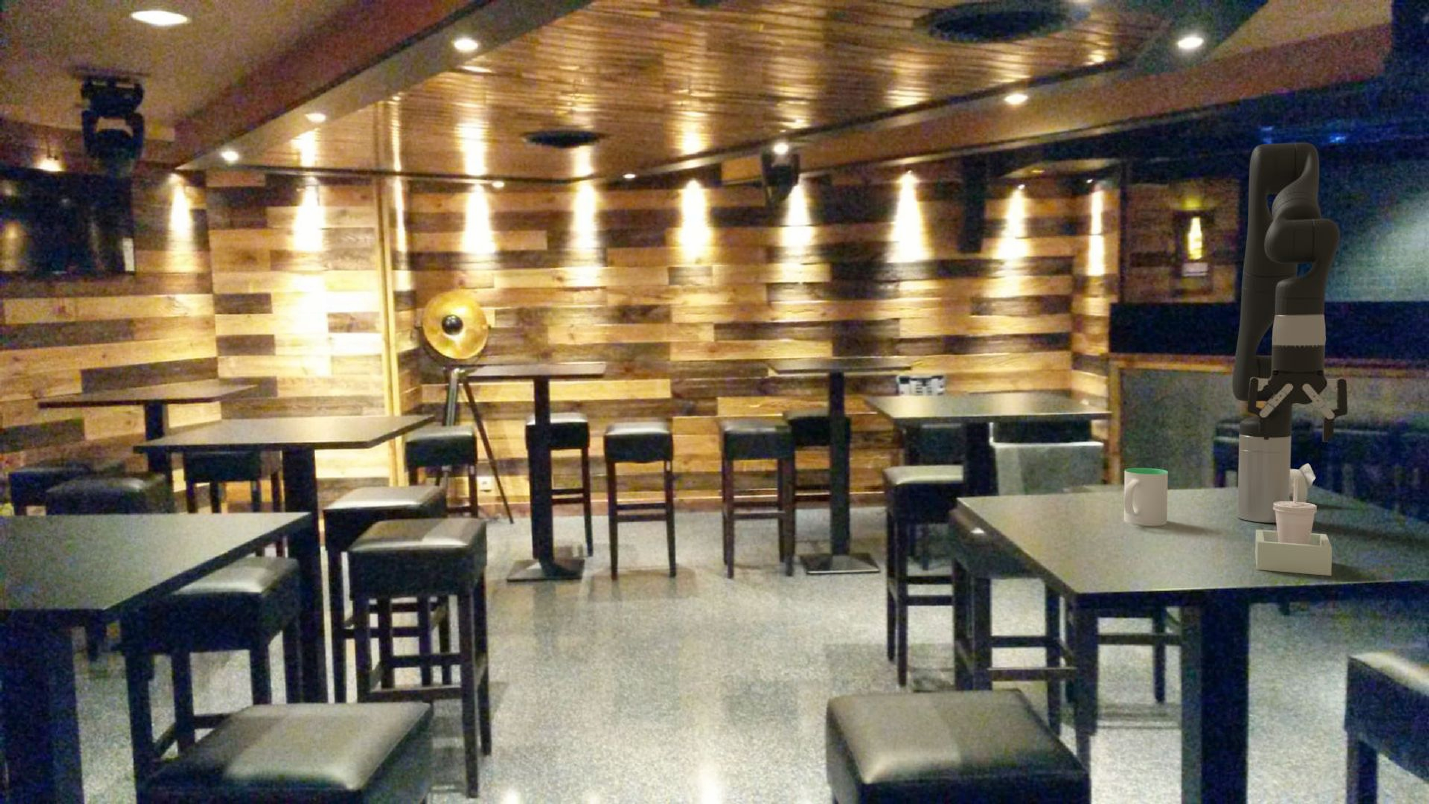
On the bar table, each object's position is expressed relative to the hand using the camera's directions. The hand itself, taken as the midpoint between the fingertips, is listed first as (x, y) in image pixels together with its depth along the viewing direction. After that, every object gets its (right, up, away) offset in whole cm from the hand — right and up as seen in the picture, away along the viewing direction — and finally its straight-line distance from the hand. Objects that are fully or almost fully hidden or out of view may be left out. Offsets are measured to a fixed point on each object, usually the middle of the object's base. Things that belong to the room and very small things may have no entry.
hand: (1295, 440), depth 167 cm
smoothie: (+1, -21, +2) cm, 21 cm away
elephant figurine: (+30, -16, +55) cm, 65 cm away
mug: (-10, -18, +37) cm, 43 cm away
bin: (0, -21, +2) cm, 21 cm away
